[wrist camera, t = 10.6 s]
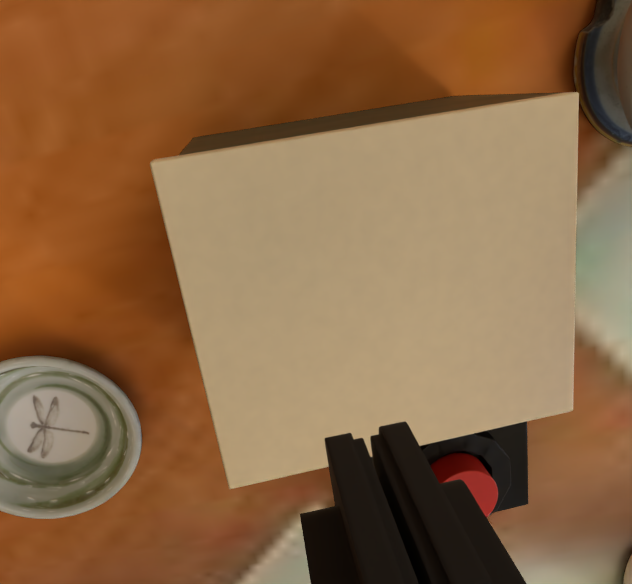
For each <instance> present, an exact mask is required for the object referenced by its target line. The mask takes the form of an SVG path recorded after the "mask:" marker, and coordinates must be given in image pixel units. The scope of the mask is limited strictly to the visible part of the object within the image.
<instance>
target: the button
mask: <svg viewBox="0 0 632 584" xmlns="http://www.w3.org/2000/svg"><path fill="white" fill-rule="evenodd" d="M431 468H432V470H433V472H434V474H435V476H436V477H437V479H438V481H439V483H444V482H448V481H453V480H458V479H461V480H463V481H464V482H465V484H466V485H467V487H468V488H469V490H470V492H471V493H472V495H473V496H474V498H475V500H476V501H477V503H478V505H479V506H480V508H481V510H482V511H483V513H484V515H485V516H486V518H487V517H488V516H489V514H490V513H491V512H492V511H493V509H494V507H495V505H496V503H497V499H498V488H497V485H496V483H495V481H494V479H493V478H492V477H491V475H490V474H489V473H488V471H487V470H486V468H485V467H484V466H483V464H482V463H481V461H480V460H479V459H477V458H476V457H474V456H472V455H470V454H466V453H453V454H449V455H446V456H443V457H441V458H439V459H438V460H437V461H435V462H434V463H433V464H432V465H431Z"/></svg>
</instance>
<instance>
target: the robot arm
mask: <svg viewBox="0 0 632 584" xmlns="http://www.w3.org/2000/svg"><path fill="white" fill-rule="evenodd" d="M370 441H371V449H372V457H373V463H372V460H371V457H370V455H369V452H368V449H367V447H366V444H365V442H364V439H363V438H358V439H353V436H352V434H351V433H346V434H341V435H337V436H332V437H327V438H325V447H326V453H327V459H328V465H329V471H330V477H331V483H332V489H333V495H334V501H335V506H334V507H330V508H325V509H321V510H316V511H311V512H307V513H302V514H300V517H301V523H302V530H303V536H304V542H305V549H306V555H307V561H308V567H309V574H310V580H311V584H526V582H525V581H524V579H523V577H522V576H521V574H520V572H519V571H518V569H517V567H516V566H515V564H514V562H513V561H512V559H511V558H510V556H509V554H508V553H507V551H506V549H505V548H504V546H503V544H502V543H501V541H500V539H499V538H498V536H497V534H496V533H495V531H494V529H493V528H492V526H491V525H490V523H489V521H488V520H487V518H486V516H485V515H484V513H483V511H482V510H481V508H480V506H479V505H478V503H477V501H476V500H475V498H474V496H473V495H472V493H471V492H470V490H469V488H468V487H467V485H466V484H465V482H464V481H463V480H461V479H458V480H453V481H448V482H444V483H439V481H438V479H437V477H436V476H435V474H434V472H433V470H432V468H431V466H430V464H429V463H428V461H427V459H426V457H425V455H424V453H423V451H422V450H421V448H420V446H419V444H418V442H417V440H416V438H415V437H414V435H413V433H412V431H411V429H410V427H409V425H408V424H407V422H405V421H404V422H399V423H394V424H389V425H385V426H380V427H379V434H377V435H373V436H371V437H370ZM373 464H374V465H373Z"/></svg>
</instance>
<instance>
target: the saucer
mask: <svg viewBox="0 0 632 584" xmlns="http://www.w3.org/2000/svg"><path fill="white" fill-rule="evenodd" d="M141 446H142V433H141V425H140V421H139V418H138V415H137V412H136V410H135V408H134V406H133V404H132V403H131V401H130V400H129V398H128V397H127V395H126V394H125V393H124V392H123V391H122V390H121V389H120V387H119V386H118V385H116V384H115V383H114V382H113V381H112V380H111V379H109V378H108V377H106V376H105V375H103V374H102V373H100V372H98V371H97V370H95V369H93V368H91V367H89V366H87V365H84V364H82V363H79V362H76V361H73V360H69V359H64V358H59V357H51V356H25V357H18V358H13V359H8V360H5V361H2V362H0V511H3V512H6V513H9V514H12V515H16V516H21V517H26V518H35V519H53V518H62V517H68V516H73V515H76V514H80V513H83V512H86V511H88V510H91V509H93V508H95V507H97V506H99V505H101V504H102V503H104V502H106V501H107V500H108V499H110V498H111V497H112V496H114V495H115V494H116V493H117V492H118V491H119V490H120V489H121V488H122V487H123V486H124V485H125V484H126V483H127V481H128V480H129V478H130V477H131V475H132V474H133V472H134V470H135V468H136V465H137V463H138V460H139V457H140V453H141Z"/></svg>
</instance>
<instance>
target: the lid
mask: <svg viewBox="0 0 632 584" xmlns="http://www.w3.org/2000/svg"><path fill="white" fill-rule="evenodd" d="M578 114H579V93H578V92H565V93H558V94H552V95H546V96H540V97H534V98H528V99H522V100H516V101H509V102H503V103H497V104H491V105H485V106H479V107H473V108H467V109H460V110H454V111H448V112H442V113H436V114H430V115H424V116H417V117H411V118H405V119H399V120H393V121H387V122H381V123H375V124H368V125H362V126H356V127H350V128H344V129H338V130H332V131H326V132H319V133H313V134H307V135H301V136H295V137H289V138H283V139H277V140H270V141H264V142H258V143H252V144H246V145H240V146H234V147H228V148H221V149H215V150H209V151H203V152H197V153H191V154H185V155H178V156H172V157H166V158H160V159H154V160H152V161H151V162H150V167H151V171H152V175H153V180H154V184H155V188H156V192H157V196H158V200H159V204H160V208H161V212H162V216H163V220H164V225H165V229H166V233H167V237H168V241H169V245H170V249H171V253H172V257H173V261H174V265H175V269H176V274H177V278H178V282H179V286H180V290H181V294H182V298H183V302H184V306H185V310H186V314H187V319H188V323H189V327H190V331H191V335H192V339H193V343H194V347H195V351H196V355H197V359H198V363H199V368H200V372H201V376H202V380H203V384H204V388H205V392H206V396H207V400H208V404H209V408H210V413H211V417H212V421H213V425H214V429H215V433H216V437H217V441H218V445H219V449H220V453H221V458H222V462H223V466H224V470H225V474H226V478H227V482H228V486H229V488H230V489H233V488H238V487H242V486H247V485H251V484H255V483H260V482H264V481H268V480H273V479H277V478H282V477H286V476H290V475H295V474H299V473H303V472H308V471H312V470H316V469H321V468H325V467H329V465H328V459H327V453H326V447H325V438H327V437H332V436H337V435H341V434H346V433H351V434H352V436H353V439H358V438H363V439H364V442H365V444H366V447H367V449H368V452H369V455H370V457H372V449H371V441H370V437H371V436H373V435H377V434H379V427H380V426H385V425H389V424H394V423H399V422H404V421H405V422H407V424H408V425H409V427H410V429H411V431H412V433H413V435H414V437H415V438H416V440H417V442H418V444H419V446H421V445H426V444H430V443H434V442H439V441H443V440H447V439H452V438H456V437H460V436H465V435H469V434H474V433H478V432H482V431H487V430H491V429H495V428H500V427H504V426H509V425H513V424H517V423H522V422H526V421H530V420H535V419H539V418H543V417H548V416H552V415H557V414H561V413H565V412H570V411H573V382H574V329H575V275H576V221H577V168H578Z"/></svg>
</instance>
